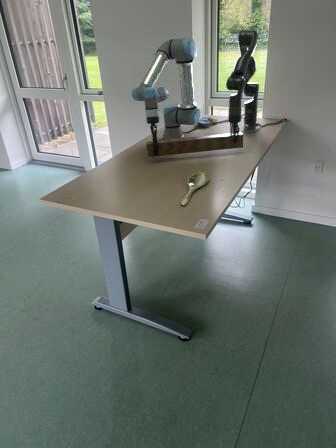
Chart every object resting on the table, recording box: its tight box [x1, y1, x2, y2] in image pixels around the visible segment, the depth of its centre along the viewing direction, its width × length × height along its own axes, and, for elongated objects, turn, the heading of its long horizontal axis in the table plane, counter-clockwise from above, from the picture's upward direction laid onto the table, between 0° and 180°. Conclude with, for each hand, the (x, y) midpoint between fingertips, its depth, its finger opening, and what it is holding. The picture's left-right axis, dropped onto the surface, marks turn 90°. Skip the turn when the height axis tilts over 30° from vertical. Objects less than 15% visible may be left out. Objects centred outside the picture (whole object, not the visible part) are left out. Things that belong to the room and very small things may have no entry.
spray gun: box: [195, 115, 218, 128], centre depth 272 cm, size 21×4×15 cm
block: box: [146, 131, 245, 158], centre depth 206 cm, size 59×5×8 cm, turn 95°
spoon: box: [180, 171, 210, 207], centre depth 170 cm, size 35×11×2 cm, turn 159°
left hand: (156, 154), depth 207 cm, fingers closed on block, 5 cm apart
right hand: (234, 141), depth 207 cm, fingers closed on block, 5 cm apart
